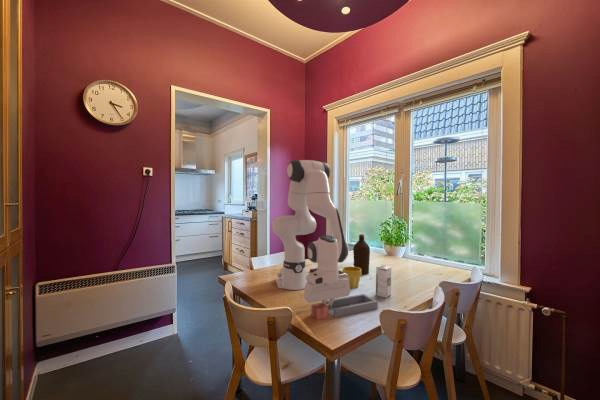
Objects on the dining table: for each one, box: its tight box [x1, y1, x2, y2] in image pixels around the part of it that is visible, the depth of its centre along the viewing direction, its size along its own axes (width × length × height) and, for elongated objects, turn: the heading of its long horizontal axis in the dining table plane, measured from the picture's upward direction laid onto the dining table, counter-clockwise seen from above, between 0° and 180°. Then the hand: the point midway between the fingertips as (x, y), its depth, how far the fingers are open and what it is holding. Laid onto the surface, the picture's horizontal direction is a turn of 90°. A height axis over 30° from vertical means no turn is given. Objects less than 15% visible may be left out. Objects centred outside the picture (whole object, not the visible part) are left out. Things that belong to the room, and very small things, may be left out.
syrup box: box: [375, 264, 392, 299], centre depth 126 cm, size 6×6×14 cm
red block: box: [310, 302, 329, 320], centre depth 101 cm, size 5×5×5 cm
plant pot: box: [342, 265, 362, 289], centre depth 139 cm, size 10×10×10 cm
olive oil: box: [352, 233, 371, 276], centre depth 164 cm, size 11×11×25 cm
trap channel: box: [326, 293, 379, 319], centre depth 108 cm, size 9×21×4 cm, turn 114°
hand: (327, 309), depth 104 cm, fingers closed
